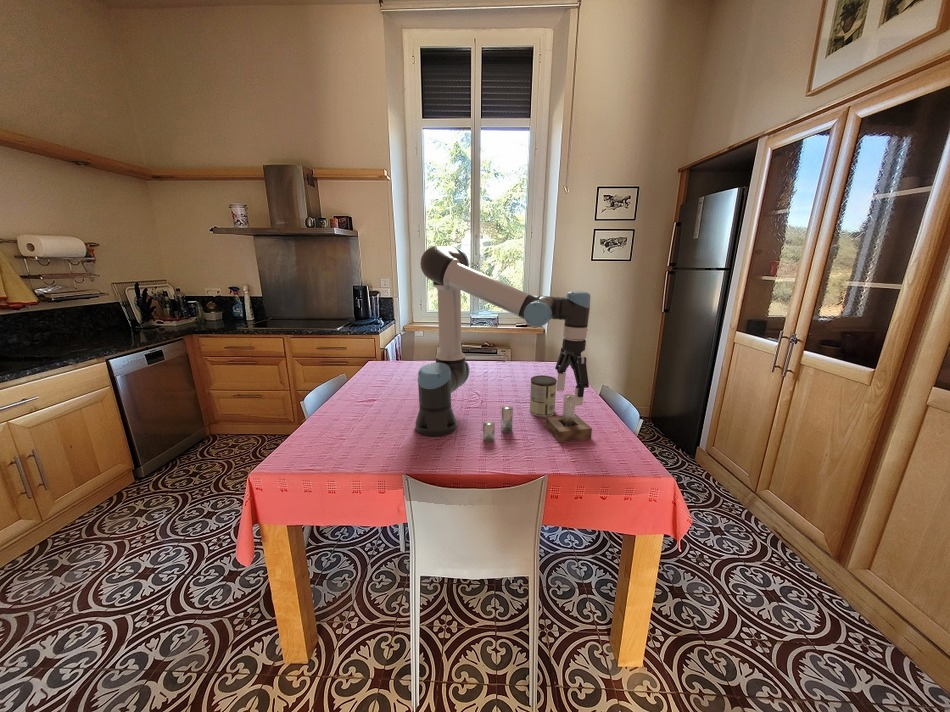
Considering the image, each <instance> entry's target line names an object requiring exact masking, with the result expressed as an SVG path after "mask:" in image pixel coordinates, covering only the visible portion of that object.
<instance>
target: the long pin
mask: <svg viewBox="0 0 950 712" xmlns="http://www.w3.org/2000/svg"><path fill="white" fill-rule="evenodd" d="M574 397H575V394H571V393H566V394H564V396H563V407H562V415H563V418H562V425H563V426H564V427H566V426H574V414H576V412H575V411H576V406H574Z"/></svg>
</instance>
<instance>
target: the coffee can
mask: <svg viewBox="0 0 950 712" xmlns="http://www.w3.org/2000/svg"><path fill="white" fill-rule="evenodd" d="M556 393H557V378H555V377H553V376H549V375H543V374H542V375H540V374H539V375H534V376H532V377H530V396H529V397H530V398H529V413H530V414H531V415H533V416H537V417H542V418H546V417H550V416H553V415H554V414H555V413H556V412H555V411H556ZM554 416H555V415H554Z"/></svg>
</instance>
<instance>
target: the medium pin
mask: <svg viewBox="0 0 950 712" xmlns="http://www.w3.org/2000/svg"><path fill="white" fill-rule="evenodd" d="M513 409H514V407H513V406H512V405H502V407H501V419H500V420H501V427H500V429H501V430H500V431H501V432H502V433H504V434H511V433H512V432H513V419H514V418H513V417H514V416H513V415H514V414H513V413H514V412H513V411H514V410H513Z"/></svg>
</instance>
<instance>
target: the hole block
mask: <svg viewBox="0 0 950 712" xmlns="http://www.w3.org/2000/svg"><path fill="white" fill-rule="evenodd" d="M562 418H563V414H561V415H554V416H553V415H552V416H549V417H545V423H544V425H545V426H544V427H545V428H546V429H547V430H548V432H549V433H550V434H551V435H552V437H553V438H554V439H555V440H556V441H557V442H558V443H565V442H567V443H568V442H575V441H585V440H592V434H593V433H592V432H593V428H592V427H591V426H590V425H589V424H588V423H586V421H584V420H583V419H582V418H581V417H579V416H578V414H576V413H575V414H574V426H566V427H564V426H563V425H562Z"/></svg>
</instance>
